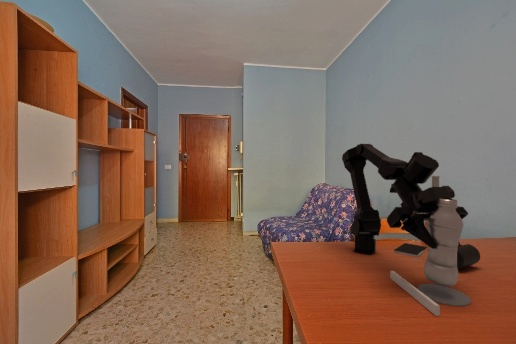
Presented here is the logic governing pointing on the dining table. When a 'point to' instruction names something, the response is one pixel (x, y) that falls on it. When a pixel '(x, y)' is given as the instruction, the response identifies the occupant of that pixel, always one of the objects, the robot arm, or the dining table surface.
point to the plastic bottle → (444, 244)
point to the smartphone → (410, 250)
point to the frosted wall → (416, 293)
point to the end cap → (467, 256)
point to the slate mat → (444, 295)
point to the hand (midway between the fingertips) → (446, 247)
